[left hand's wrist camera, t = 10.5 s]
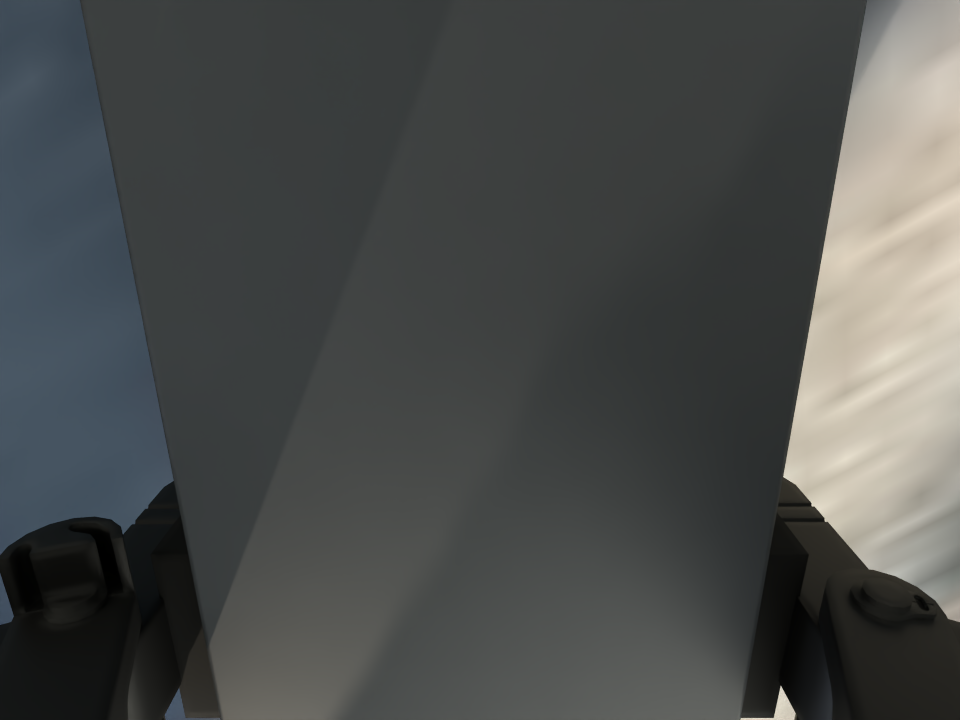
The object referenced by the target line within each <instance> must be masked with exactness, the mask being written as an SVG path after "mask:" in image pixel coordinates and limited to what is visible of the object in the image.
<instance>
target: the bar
mask: <svg viewBox="0 0 960 720" xmlns="http://www.w3.org/2000/svg"><path fill="white" fill-rule="evenodd" d="M866 2H867V0H80V3H81V8H82V13H83V18H84V23H85V28H86V33H87V38H88V44H89V49H90V54H91V59H92V64H93V69H94V74H95V79H96V84H97V90H98V95H99V100H100V105H101V110H102V115H103V120H104V125H105V131H106V136H107V141H108V146H109V151H110V156H111V161H112V166H113V171H114V177H115V182H116V187H117V192H118V197H119V202H120V207H121V212H122V218H123V223H124V228H125V233H126V238H127V243H128V248H129V253H130V258H131V264H132V269H133V274H134V279H135V284H136V289H137V294H138V299H139V304H140V310H141V315H142V320H143V325H144V330H145V335H146V340H147V345H148V351H149V356H150V361H151V366H152V371H153V376H154V381H155V386H156V391H157V397H158V402H159V407H160V412H161V417H162V422H163V427H164V432H165V438H166V443H167V448H168V453H169V458H170V463H171V468H172V473H173V478H174V484H175V489H176V494H177V499H178V504H179V509H180V514H181V519H182V525H183V530H184V535H185V540H186V545H187V550H188V555H189V560H190V565H191V571H192V576H193V581H194V586H195V591H196V596H197V601H198V606H199V611H200V617H201V622H202V627H203V632H204V637H205V642H206V647H207V652H208V658H209V663H210V668H211V673H212V678H213V683H214V688H215V693H216V698H217V704H218V709H219V714H220V719H221V720H740V718H741V713H742V707H743V701H744V696H745V690H746V684H747V679H748V673H749V667H750V662H751V656H752V650H753V645H754V639H755V633H756V628H757V622H758V616H759V610H760V605H761V599H762V593H763V588H764V582H765V576H766V571H767V565H768V559H769V554H770V548H771V542H772V537H773V531H774V525H775V520H776V514H777V508H778V502H779V497H780V491H781V485H782V480H783V474H784V468H785V463H786V457H787V451H788V446H789V440H790V434H791V429H792V423H793V417H794V412H795V406H796V400H797V394H798V389H799V383H800V377H801V372H802V366H803V360H804V355H805V349H806V343H807V338H808V332H809V326H810V321H811V315H812V309H813V304H814V298H815V292H816V287H817V281H818V275H819V269H820V264H821V258H822V252H823V247H824V241H825V235H826V230H827V224H828V218H829V213H830V207H831V201H832V196H833V190H834V184H835V179H836V173H837V167H838V161H839V156H840V150H841V144H842V139H843V133H844V127H845V122H846V116H847V110H848V105H849V99H850V93H851V88H852V82H853V76H854V71H855V65H856V59H857V53H858V48H859V42H860V36H861V31H862V25H863V19H864V14H865V8H866Z"/></svg>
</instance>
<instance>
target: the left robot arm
mask: <svg viewBox="0 0 960 720" xmlns="http://www.w3.org/2000/svg"><path fill="white" fill-rule="evenodd" d="M0 574H1V577H2V580H3V583H4V586H5V589H6V592H7V596H8V599H9V602H10V605H11V608H12V611H13V614H14V617H13V620H12V622H10V623H6V624H2V625H0V720H166V719H165V713H166V711H167V709H168V707H169V705H170V704H171V702H172V700H173V698H174V696H175V694H176V692H177V690H178V688H179V689H180V693H181V698H182V703H183V707H184V712H185V716H186V718H220V714H219V709H218V704H217V698H216V693H215V688H214V683H213V678H212V673H211V668H210V663H209V658H208V652H207V647H206V642H205V637H204V632H203V627H202V622H201V617H200V611H199V606H198V601H197V596H196V591H195V586H194V581H193V576H192V571H191V565H190V560H189V555H188V550H187V545H186V540H185V535H184V530H183V525H182V519H181V514H180V509H179V504H178V499H177V494H176V489H175V484H174V481H173V482H171V483H170V484H168V485H167V486H165V487H164V488H163V489H162V490H161V491H160V492H159V494H158V495H157V496H156V497H155V498H154V499H153V501H152V502H151V503H150V504H149V505H148V509H145V510H144V511H143V512H142V513H141V515H140V516H139V517H138V518H137V519H136V520H135V524H132V525H131V526H130V527H129V528H128V530H127V531H126V532H125V533H124V534H122V530H121V526H119V525H118V524H116V523H115V522H114V521H112V520H111V519H105V518H99V517H84V518H73V519H69V520H65V521H61V522H57V523H53V524H49V525H47V526H45V527H42V528H40V529H38V530H35V531H33V532H31V533H28V534H26V535H25V536H23V537H22V538H20V539H19V540H17V541H16V542H14V543H13V544H11V545H10V546H8V547H7V548H6V549H5V551H4V552H3V553H2V554H1V555H0ZM780 686H782V688H783V690H784V692H785V694H786V696H787V698H788V700H789V701H790V703H791V705H792V707H793V709H794V711H795V713H796V715H795V719H794V720H960V622H957V621H953V620H950V619H948V618H947V616H946V615H945V613H944V612H943V611H942V609H941V608H940V607H939V605H938V604H937V602H936V601H935V600H934V599H932V598H931V597H930V596H928V595H927V594H926V593H924V592H923V591H922V590H920V589H919V588H918V587H916V586H914V585H912V584H910V583H908V582H906V581H904V580H902V579H900V578H898V577H896V576H892V575H889V574H885V573H882V572H878V571H875V570H869V569H868V568H867V567H866V566H865V564H864V563H863V562H862V561H861V560H860V559H859V558H858V556H857V555H856V554H855V553H854V552H853V551H852V549H851V548H850V547H849V546H848V545H847V544H846V543H845V541H844V540H843V539H842V538H841V537H840V536H839V534H838V533H837V532H836V531H835V530H834V529H833V528H832V526H831V525H830V524H829V523H828V522H825V521H824V517H823V516H822V515H821V514H820V513H819V511H818V510H817V509H816V508H815V507H812V506H811V502H810V501H809V500H808V499H807V497H806V496H805V495H804V494H803V493H802V492H801V491H800V489H799V488H798V487H797V486H796V485H795V484H793V483H792V482H790V481H788V480H787V479H785V478H784V477H783V480H782V485H781V491H780V497H779V502H778V508H777V514H776V520H775V525H774V531H773V537H772V542H771V548H770V554H769V559H768V565H767V571H766V576H765V582H764V588H763V593H762V599H761V605H760V610H759V616H758V622H757V628H756V633H755V639H754V645H753V650H752V656H751V662H750V667H749V673H748V679H747V684H746V690H745V696H744V701H743V707H742V713H741V718H774V714H775V709H776V704H777V700H778V695H779V691H780Z"/></svg>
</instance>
